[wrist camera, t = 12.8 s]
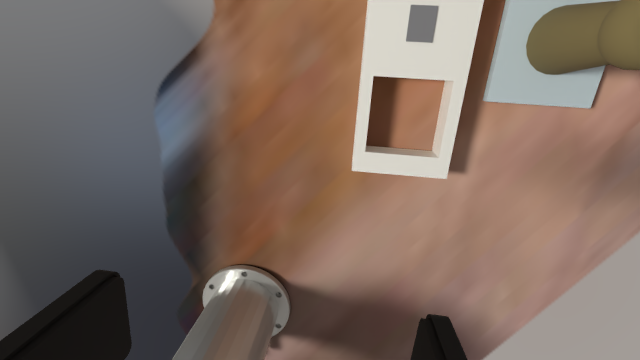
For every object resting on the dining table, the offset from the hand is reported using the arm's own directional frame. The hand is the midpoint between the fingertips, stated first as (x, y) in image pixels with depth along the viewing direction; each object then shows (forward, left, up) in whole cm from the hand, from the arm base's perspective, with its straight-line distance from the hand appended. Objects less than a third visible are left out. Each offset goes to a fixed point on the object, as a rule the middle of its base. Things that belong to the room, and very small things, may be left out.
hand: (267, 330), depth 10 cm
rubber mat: (+12, -21, -28) cm, 36 cm away
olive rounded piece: (+11, -21, -27) cm, 36 cm away
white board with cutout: (+10, -8, -28) cm, 30 cm away
